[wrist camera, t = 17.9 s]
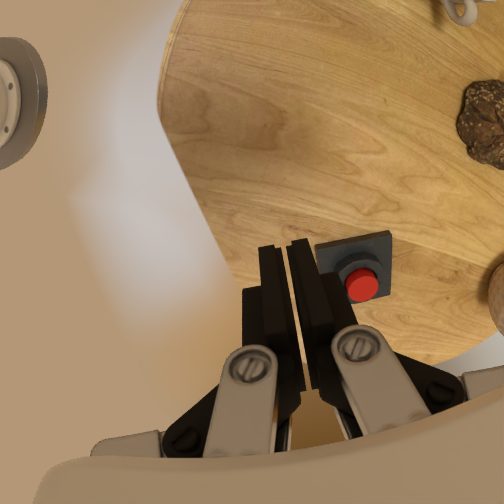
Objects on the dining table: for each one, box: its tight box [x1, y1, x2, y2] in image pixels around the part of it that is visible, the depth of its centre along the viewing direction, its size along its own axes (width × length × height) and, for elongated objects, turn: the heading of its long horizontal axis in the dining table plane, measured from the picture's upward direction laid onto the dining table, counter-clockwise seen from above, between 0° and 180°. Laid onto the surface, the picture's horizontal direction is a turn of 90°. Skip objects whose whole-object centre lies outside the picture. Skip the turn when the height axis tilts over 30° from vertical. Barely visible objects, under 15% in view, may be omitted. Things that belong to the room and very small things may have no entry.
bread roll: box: [457, 80, 504, 170], centre depth 27 cm, size 13×12×5 cm
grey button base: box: [315, 230, 392, 304], centre depth 39 cm, size 10×10×3 cm
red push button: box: [345, 268, 378, 302], centre depth 38 cm, size 4×4×2 cm
